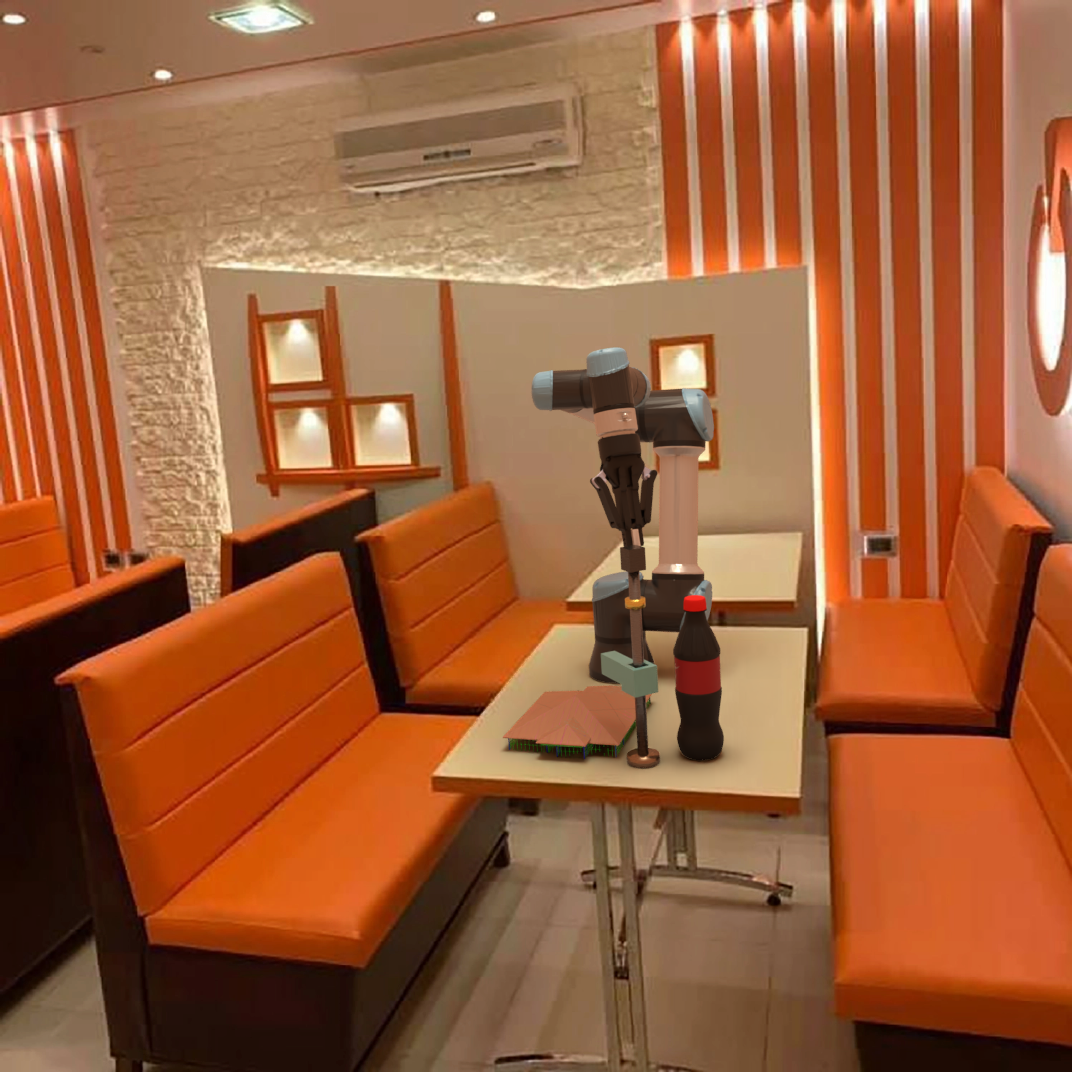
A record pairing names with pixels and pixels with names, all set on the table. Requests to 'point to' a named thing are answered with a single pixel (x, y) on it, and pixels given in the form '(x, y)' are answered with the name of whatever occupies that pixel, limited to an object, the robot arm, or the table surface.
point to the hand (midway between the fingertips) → (636, 565)
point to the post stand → (637, 653)
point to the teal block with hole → (630, 674)
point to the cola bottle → (698, 684)
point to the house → (578, 719)
